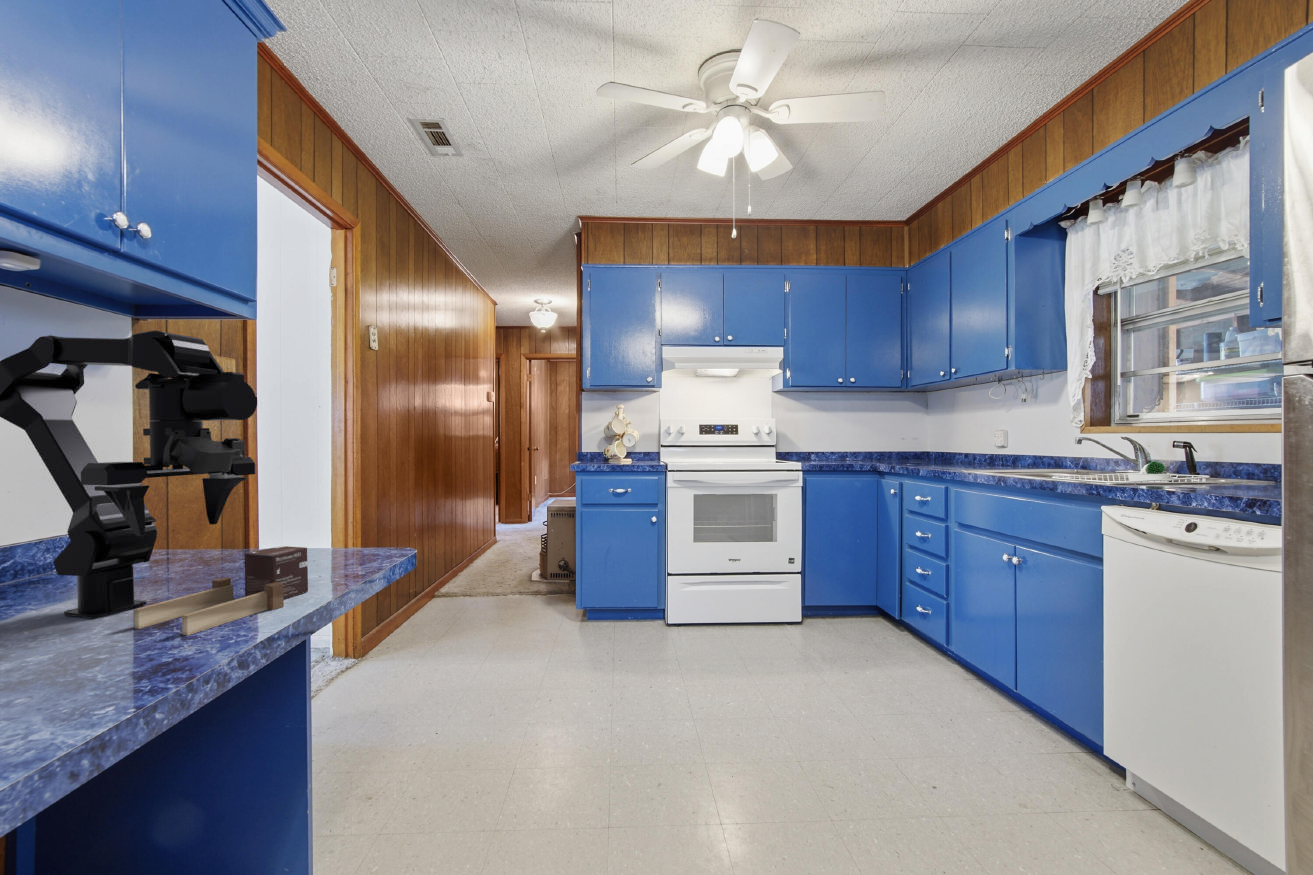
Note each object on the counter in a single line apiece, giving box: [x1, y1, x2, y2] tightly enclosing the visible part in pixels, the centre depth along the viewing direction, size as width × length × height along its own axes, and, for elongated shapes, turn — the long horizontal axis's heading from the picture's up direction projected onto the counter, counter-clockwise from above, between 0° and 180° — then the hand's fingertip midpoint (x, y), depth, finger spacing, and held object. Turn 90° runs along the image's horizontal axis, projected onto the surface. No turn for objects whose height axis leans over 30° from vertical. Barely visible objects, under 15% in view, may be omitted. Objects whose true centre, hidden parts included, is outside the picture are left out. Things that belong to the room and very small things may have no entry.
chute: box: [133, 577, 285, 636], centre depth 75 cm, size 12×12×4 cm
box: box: [244, 545, 309, 600], centre depth 85 cm, size 6×6×7 cm
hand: (178, 529), depth 77 cm, fingers open, 9 cm apart
